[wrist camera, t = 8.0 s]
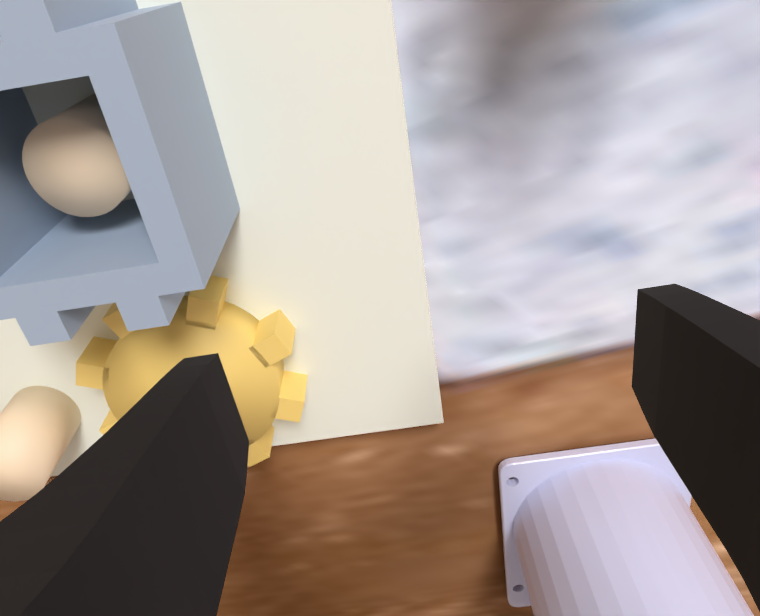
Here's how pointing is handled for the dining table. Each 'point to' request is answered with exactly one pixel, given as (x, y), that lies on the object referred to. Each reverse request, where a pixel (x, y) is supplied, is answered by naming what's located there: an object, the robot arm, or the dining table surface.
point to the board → (250, 246)
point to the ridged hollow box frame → (138, 157)
